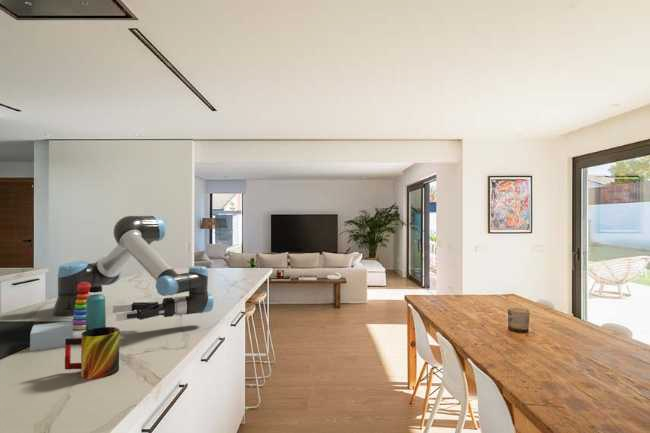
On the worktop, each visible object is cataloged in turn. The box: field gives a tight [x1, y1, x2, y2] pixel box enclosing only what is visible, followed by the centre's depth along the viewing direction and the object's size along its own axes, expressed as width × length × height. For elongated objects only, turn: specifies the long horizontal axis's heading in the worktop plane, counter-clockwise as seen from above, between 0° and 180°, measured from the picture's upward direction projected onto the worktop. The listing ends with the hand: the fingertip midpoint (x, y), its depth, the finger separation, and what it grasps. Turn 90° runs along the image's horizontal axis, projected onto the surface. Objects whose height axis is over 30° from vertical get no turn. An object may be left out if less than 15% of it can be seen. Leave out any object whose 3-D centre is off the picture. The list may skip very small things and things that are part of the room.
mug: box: [64, 326, 120, 380], centre depth 114 cm, size 10×14×12 cm
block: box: [29, 320, 74, 352], centre depth 141 cm, size 12×12×6 cm
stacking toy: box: [71, 282, 92, 331], centre depth 161 cm, size 8×8×19 cm
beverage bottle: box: [85, 285, 107, 331], centre depth 145 cm, size 6×7×20 cm
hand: (114, 313), depth 148 cm, fingers open, 13 cm apart
